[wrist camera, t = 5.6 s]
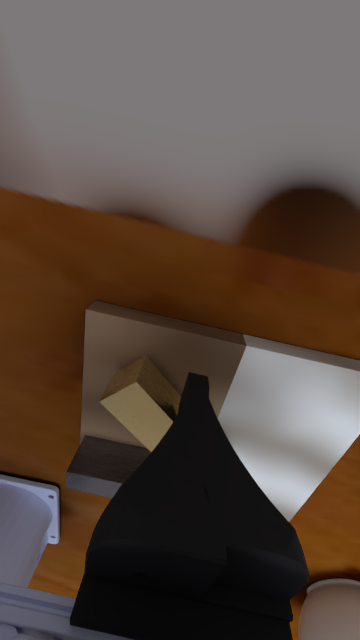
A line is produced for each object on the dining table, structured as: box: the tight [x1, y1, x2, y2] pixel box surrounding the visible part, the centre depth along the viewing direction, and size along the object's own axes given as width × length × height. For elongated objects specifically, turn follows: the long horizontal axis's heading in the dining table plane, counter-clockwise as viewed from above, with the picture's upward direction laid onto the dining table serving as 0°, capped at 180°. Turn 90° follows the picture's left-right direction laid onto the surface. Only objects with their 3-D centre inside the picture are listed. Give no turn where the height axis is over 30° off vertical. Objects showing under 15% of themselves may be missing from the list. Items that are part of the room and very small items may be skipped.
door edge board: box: [80, 300, 360, 522], centre depth 15 cm, size 14×16×1 cm
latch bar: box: [99, 356, 181, 452], centre depth 13 cm, size 9×3×3 cm, turn 35°
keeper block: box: [66, 435, 151, 498], centre depth 15 cm, size 2×4×2 cm, turn 78°
